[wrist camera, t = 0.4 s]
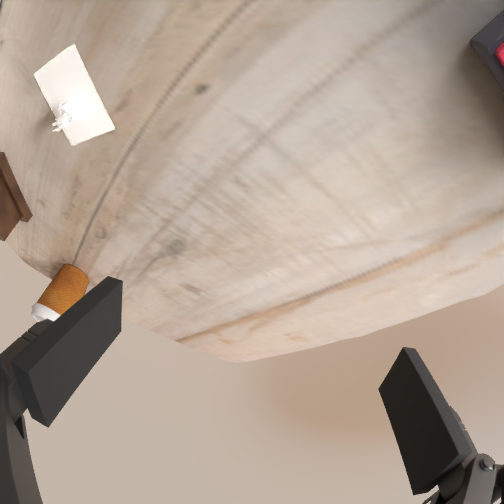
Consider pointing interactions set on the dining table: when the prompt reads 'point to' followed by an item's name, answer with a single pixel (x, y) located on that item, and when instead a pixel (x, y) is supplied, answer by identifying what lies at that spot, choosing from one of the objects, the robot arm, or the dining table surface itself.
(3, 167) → the stand
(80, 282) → the disposable coffee cup
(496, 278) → the dining table surface
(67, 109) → the adhesive hook
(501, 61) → the red white flat box
